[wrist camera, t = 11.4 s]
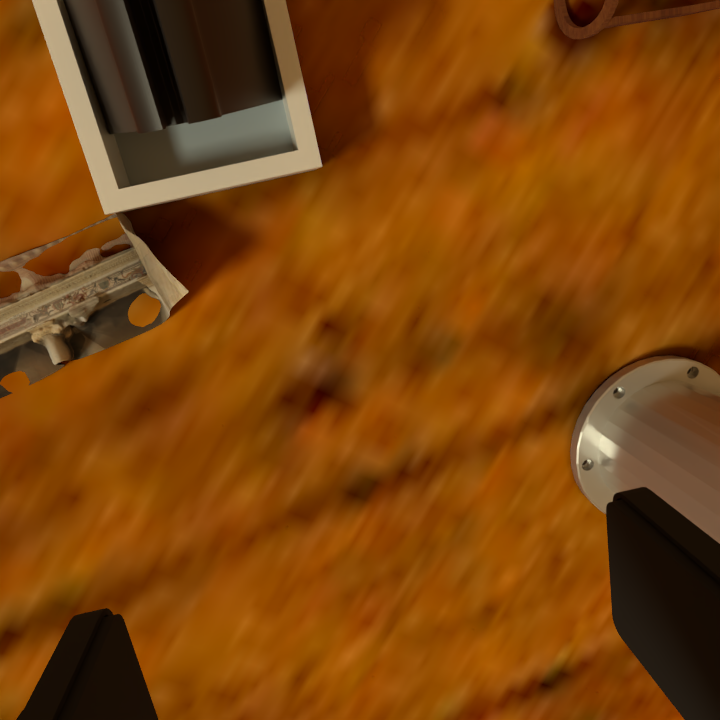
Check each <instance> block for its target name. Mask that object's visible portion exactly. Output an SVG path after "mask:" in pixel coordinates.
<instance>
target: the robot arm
mask: <svg viewBox="0 0 720 720" xmlns="http://www.w3.org/2000/svg"><path fill="white" fill-rule="evenodd" d="M570 454H571V467H572V471H573V474H574V478H575V481H576V483H577V484H578V486H579V488H580V490H581V492H582V493H583V494H584V495H585V496H586V497H587V499H588V500H589V501H590V502H591V503H592V504H593V505H595V506H596V507H597V508H598V509H599V510H600V511H602V512H603V513H605V514H606V517H607V534H608V550H609V567H610V584H611V600H612V616H613V621H614V624H615V627H616V629H617V631H618V633H619V635H620V636H621V638H622V639H623V641H624V642H625V643H626V644H627V646H628V647H629V648H630V650H631V651H632V652H633V653H634V655H635V656H636V657H637V659H638V660H639V661H640V663H641V664H642V665H643V666H644V668H645V669H646V670H647V672H648V673H649V674H650V675H651V677H652V678H653V679H654V681H655V682H656V683H657V684H658V686H659V687H660V688H661V690H662V691H663V692H664V693H665V695H666V696H667V697H668V699H669V700H670V701H671V702H672V704H673V705H674V706H675V708H676V709H677V710H678V712H679V713H680V714H681V715H682V717H683V718H684V719H685V720H720V375H719V374H718V373H717V372H716V371H714V370H713V369H712V368H710V367H708V366H706V365H704V364H702V363H700V362H697V361H694V360H691V359H688V358H685V357H679V356H671V355H668V356H655V357H651V358H647V359H643V360H640V361H637V362H635V363H633V364H631V365H629V366H627V367H624V368H623V369H621V370H620V371H618V372H617V373H615V374H614V375H612V376H611V377H610V378H608V379H607V380H606V381H605V382H604V383H603V384H602V385H601V386H600V387H599V388H598V389H597V390H596V391H595V392H594V394H593V395H592V396H591V398H590V399H589V400H588V402H587V403H586V404H585V406H584V408H583V410H582V412H581V414H580V416H579V418H578V420H577V423H576V426H575V429H574V432H573V435H572V442H571V450H570ZM16 720H158V717H157V714H156V711H155V709H154V706H153V703H152V700H151V697H150V694H149V691H148V688H147V685H146V683H145V680H144V677H143V674H142V671H141V668H140V665H139V662H138V659H137V657H136V654H135V651H134V648H133V645H132V642H131V639H130V636H129V633H128V631H127V628H126V625H125V622H124V619H123V617H122V616H121V615H120V614H116V615H113V614H112V612H111V611H110V610H109V609H107V608H105V609H101V610H96V611H92V612H88V613H83V614H79V615H76V616H74V617H73V618H72V619H71V620H70V622H69V624H68V626H67V628H66V630H65V632H64V634H63V636H62V638H61V639H60V641H59V643H58V645H57V647H56V649H55V651H54V653H53V655H52V657H51V659H50V661H49V662H48V664H47V666H46V668H45V670H44V672H43V674H42V676H41V678H40V680H39V682H38V684H37V685H36V687H35V689H34V691H33V693H32V695H31V697H30V699H29V701H28V703H27V705H26V706H25V708H24V710H23V711H22V712H21V714H20V715H19V716H18V718H17V719H16Z"/></svg>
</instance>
